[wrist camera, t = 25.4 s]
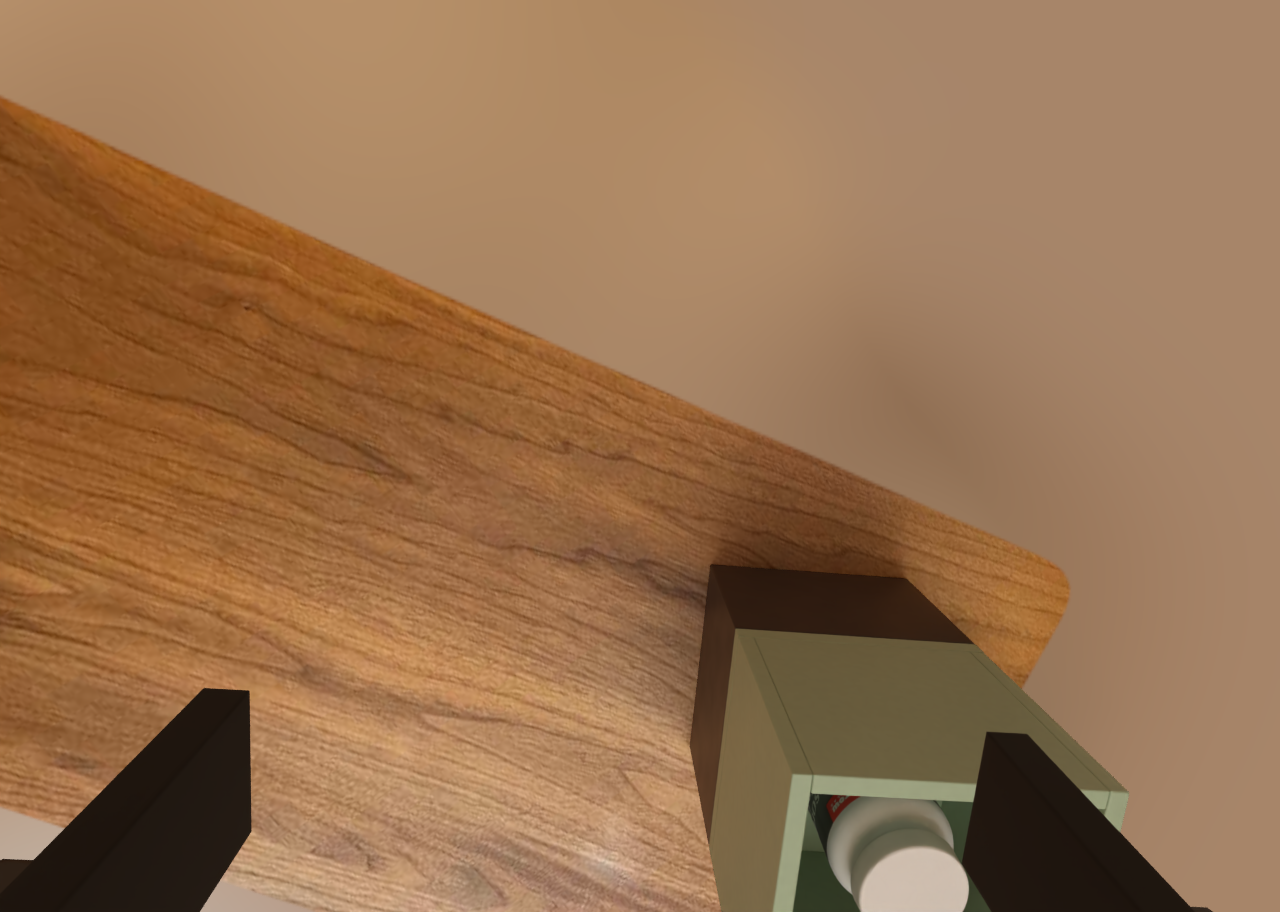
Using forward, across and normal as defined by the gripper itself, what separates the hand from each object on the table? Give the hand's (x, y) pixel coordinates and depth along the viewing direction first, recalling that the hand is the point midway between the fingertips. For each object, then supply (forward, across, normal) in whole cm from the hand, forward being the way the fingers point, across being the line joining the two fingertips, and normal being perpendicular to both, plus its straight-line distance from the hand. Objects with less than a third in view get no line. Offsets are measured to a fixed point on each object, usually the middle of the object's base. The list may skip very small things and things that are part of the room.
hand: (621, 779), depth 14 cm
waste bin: (+36, +14, -15) cm, 42 cm away
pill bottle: (+26, +14, -15) cm, 33 cm away
